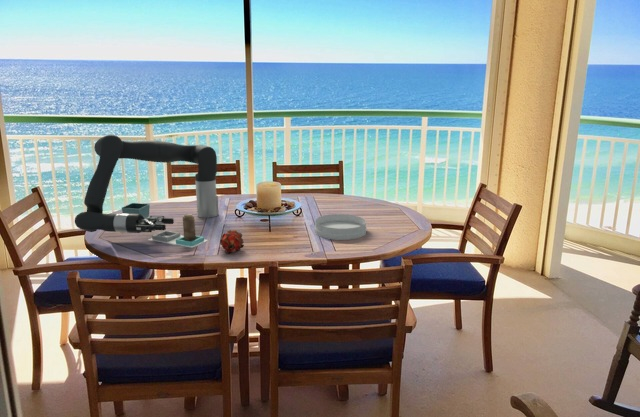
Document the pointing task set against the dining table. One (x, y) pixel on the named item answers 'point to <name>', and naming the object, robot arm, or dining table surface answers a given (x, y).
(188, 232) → the jar
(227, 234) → the dragon fruit
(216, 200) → the robot arm
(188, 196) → the dining table surface
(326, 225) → the dish
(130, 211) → the flower pot
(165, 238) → the frame board
